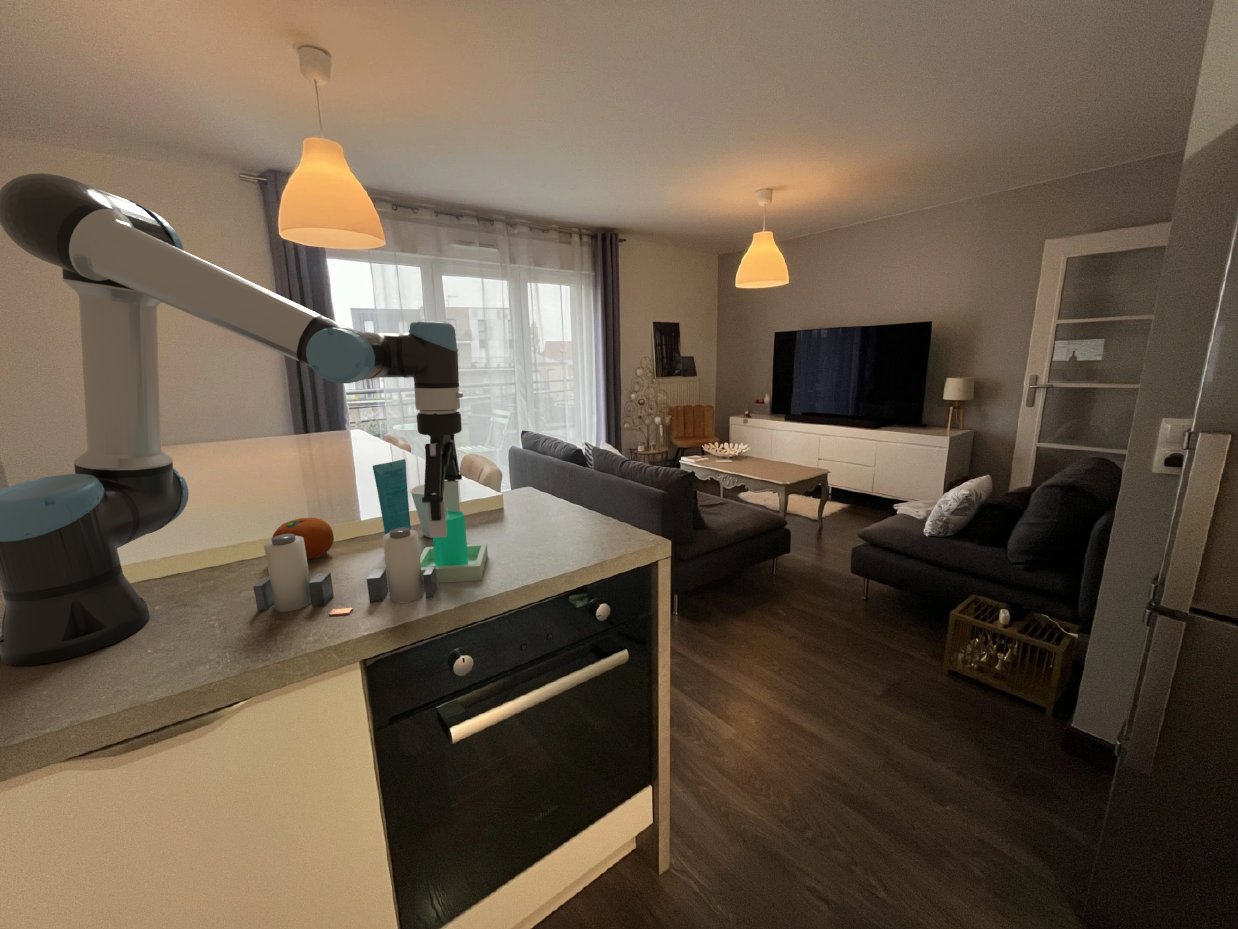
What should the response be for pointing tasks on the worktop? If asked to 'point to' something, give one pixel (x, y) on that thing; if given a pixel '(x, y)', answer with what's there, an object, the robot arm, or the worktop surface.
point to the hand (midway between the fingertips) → (446, 523)
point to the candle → (452, 542)
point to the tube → (393, 494)
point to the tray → (457, 572)
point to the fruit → (310, 535)
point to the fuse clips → (324, 593)
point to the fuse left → (288, 572)
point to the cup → (421, 508)
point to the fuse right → (403, 565)
